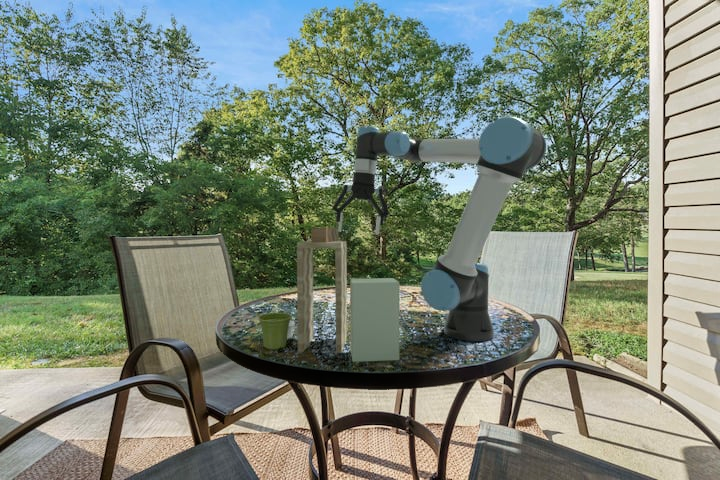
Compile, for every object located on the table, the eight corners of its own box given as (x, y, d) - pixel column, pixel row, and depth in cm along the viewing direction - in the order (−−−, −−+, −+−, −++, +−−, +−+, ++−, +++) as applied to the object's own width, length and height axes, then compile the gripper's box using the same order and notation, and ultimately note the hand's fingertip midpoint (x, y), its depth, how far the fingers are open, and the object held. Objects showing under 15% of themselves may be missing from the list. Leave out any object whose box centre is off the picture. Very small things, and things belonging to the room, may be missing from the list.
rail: (326, 240, 120) (326, 228, 120) (338, 240, 119) (338, 228, 119) (311, 242, 96) (311, 227, 96) (326, 242, 95) (326, 227, 95)
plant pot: (294, 341, 107) (294, 312, 106) (289, 351, 97) (288, 320, 97) (262, 341, 106) (262, 312, 106) (254, 352, 97) (254, 320, 97)
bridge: (308, 336, 111) (308, 241, 110) (346, 337, 110) (346, 241, 109) (297, 352, 97) (297, 242, 96) (341, 353, 96) (340, 242, 95)
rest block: (393, 349, 99) (393, 278, 98) (399, 359, 91) (399, 282, 90) (350, 351, 98) (350, 278, 97) (352, 361, 90) (352, 283, 89)
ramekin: (300, 336, 111) (299, 323, 111) (274, 342, 105) (274, 328, 105) (285, 331, 118) (285, 318, 118) (260, 336, 112) (260, 322, 112)
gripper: (395, 177, 130) (389, 234, 132) (327, 169, 125) (322, 228, 127) (401, 176, 123) (395, 236, 125) (330, 167, 118) (324, 231, 120)
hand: (358, 233), depth 126 cm, fingers open, 13 cm apart
